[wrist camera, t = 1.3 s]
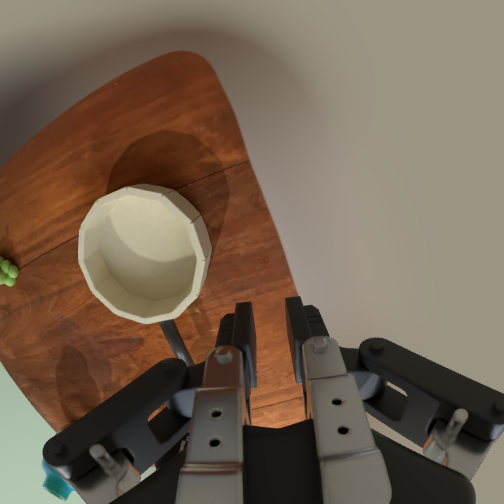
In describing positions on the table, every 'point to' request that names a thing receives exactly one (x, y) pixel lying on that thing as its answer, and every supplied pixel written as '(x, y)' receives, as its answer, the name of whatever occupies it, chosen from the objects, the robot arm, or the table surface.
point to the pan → (146, 256)
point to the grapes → (7, 272)
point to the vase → (56, 479)
